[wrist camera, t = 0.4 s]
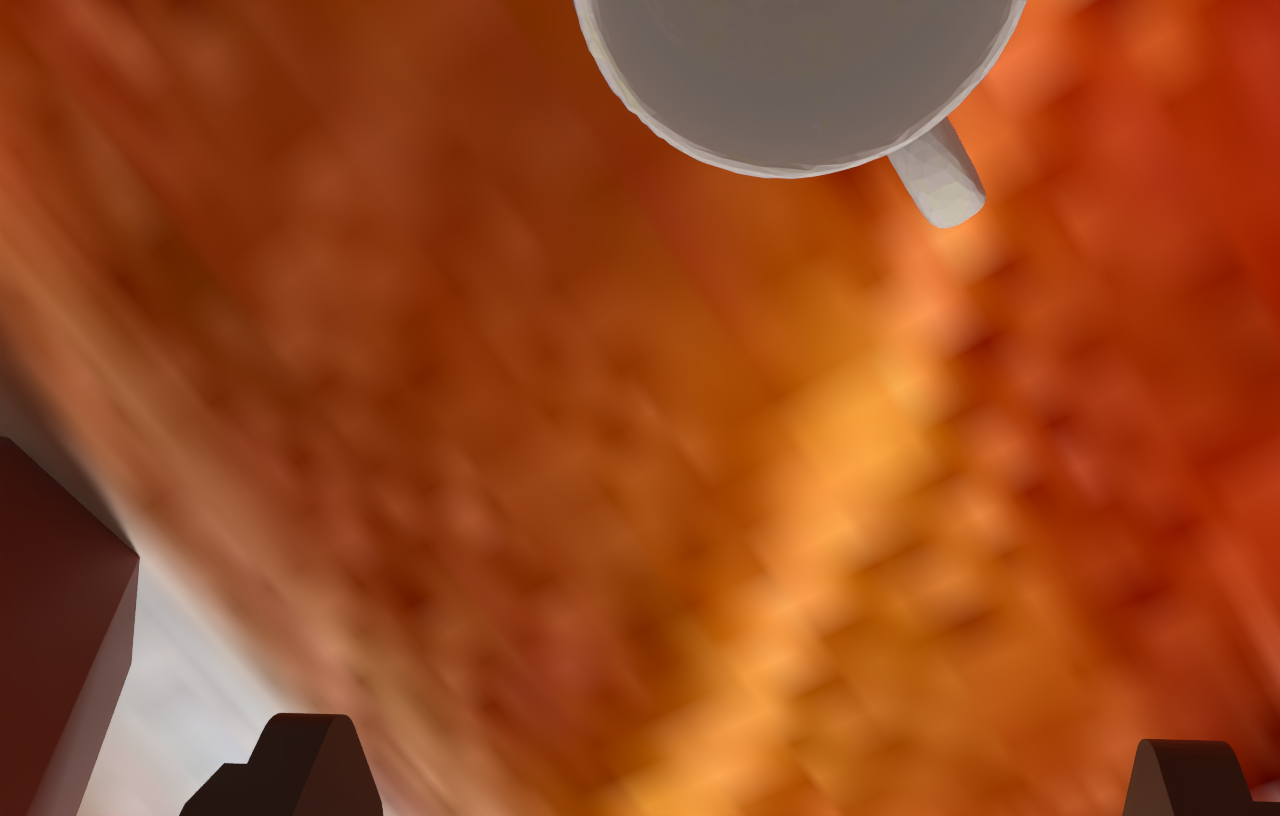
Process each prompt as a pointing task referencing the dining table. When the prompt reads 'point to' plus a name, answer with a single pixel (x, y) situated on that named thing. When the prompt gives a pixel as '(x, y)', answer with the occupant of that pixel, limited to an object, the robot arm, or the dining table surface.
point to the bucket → (57, 638)
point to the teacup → (808, 83)
